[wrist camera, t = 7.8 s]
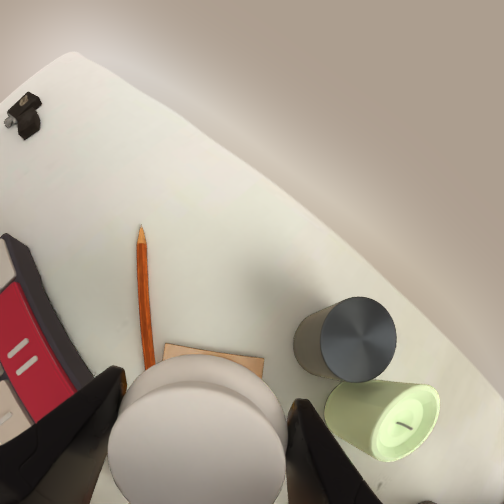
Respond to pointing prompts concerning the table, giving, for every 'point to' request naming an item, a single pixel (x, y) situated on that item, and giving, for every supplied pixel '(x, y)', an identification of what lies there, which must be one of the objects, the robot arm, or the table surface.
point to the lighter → (25, 115)
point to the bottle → (427, 502)
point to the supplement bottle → (199, 435)
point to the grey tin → (347, 341)
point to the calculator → (31, 346)
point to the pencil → (144, 301)
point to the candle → (383, 416)
